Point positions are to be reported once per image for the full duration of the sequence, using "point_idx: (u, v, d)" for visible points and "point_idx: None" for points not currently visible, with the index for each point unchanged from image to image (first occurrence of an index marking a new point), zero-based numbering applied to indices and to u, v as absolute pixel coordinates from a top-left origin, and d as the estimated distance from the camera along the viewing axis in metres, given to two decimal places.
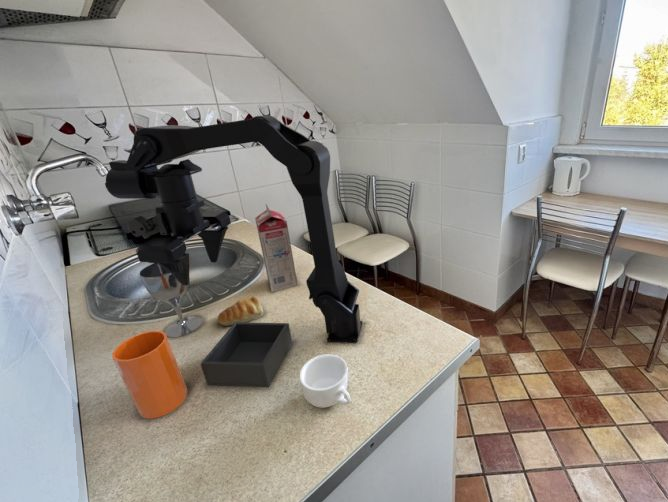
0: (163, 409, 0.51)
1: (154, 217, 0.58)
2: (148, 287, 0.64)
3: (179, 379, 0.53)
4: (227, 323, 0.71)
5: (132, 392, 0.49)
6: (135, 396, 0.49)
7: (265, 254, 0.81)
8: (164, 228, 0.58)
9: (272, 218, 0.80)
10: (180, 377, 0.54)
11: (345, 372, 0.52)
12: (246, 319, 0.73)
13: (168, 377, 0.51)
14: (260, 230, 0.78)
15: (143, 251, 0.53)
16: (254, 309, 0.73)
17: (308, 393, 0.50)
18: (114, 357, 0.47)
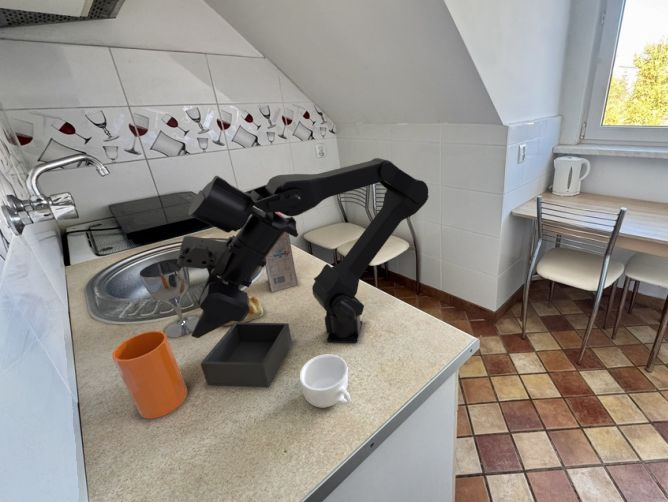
0: (163, 409, 0.51)
1: (218, 252, 0.49)
2: (148, 287, 0.64)
3: (179, 379, 0.53)
4: (227, 323, 0.71)
5: (132, 392, 0.49)
6: (135, 396, 0.49)
7: None
8: (223, 269, 0.49)
9: None
10: (180, 377, 0.54)
11: (345, 372, 0.52)
12: (246, 319, 0.73)
13: (168, 377, 0.51)
14: None
15: (221, 301, 0.44)
16: (254, 309, 0.73)
17: (308, 393, 0.50)
18: (114, 357, 0.47)
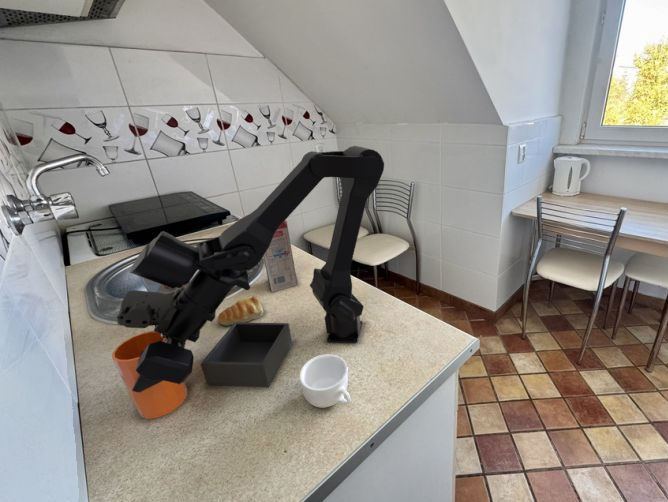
0: (163, 409, 0.51)
1: (162, 309, 0.47)
2: (148, 287, 0.64)
3: None
4: (227, 323, 0.71)
5: (132, 392, 0.49)
6: (135, 396, 0.49)
7: (265, 254, 0.81)
8: (167, 326, 0.48)
9: None
10: None
11: (345, 372, 0.52)
12: (246, 319, 0.73)
13: None
14: None
15: (159, 365, 0.43)
16: (254, 309, 0.73)
17: (308, 393, 0.50)
18: (114, 357, 0.47)
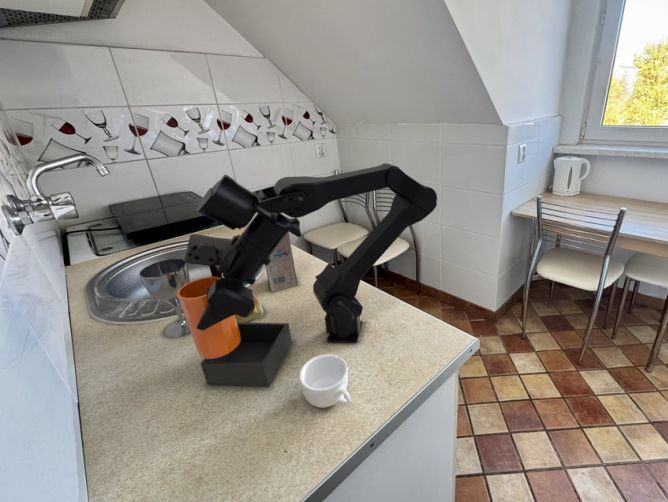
0: (222, 349, 0.54)
1: (224, 250, 0.50)
2: (148, 287, 0.64)
3: (235, 323, 0.56)
4: None
5: (195, 331, 0.52)
6: (197, 335, 0.52)
7: None
8: (228, 267, 0.50)
9: None
10: (235, 321, 0.56)
11: (345, 372, 0.52)
12: (246, 319, 0.73)
13: (226, 319, 0.54)
14: None
15: (228, 297, 0.46)
16: (254, 309, 0.73)
17: (308, 393, 0.50)
18: (179, 296, 0.50)
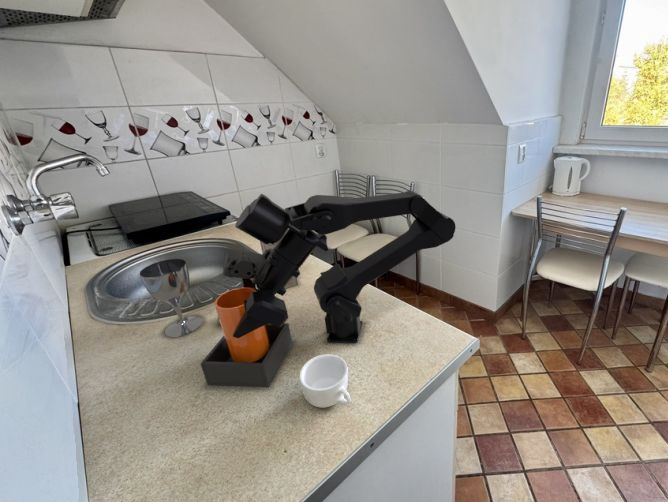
0: (254, 356, 0.58)
1: (259, 264, 0.54)
2: (148, 287, 0.64)
3: (265, 331, 0.60)
4: None
5: (230, 338, 0.56)
6: (233, 342, 0.56)
7: None
8: (263, 279, 0.54)
9: None
10: (265, 329, 0.60)
11: (345, 372, 0.52)
12: None
13: None
14: None
15: (265, 308, 0.49)
16: None
17: (308, 393, 0.50)
18: (217, 306, 0.54)
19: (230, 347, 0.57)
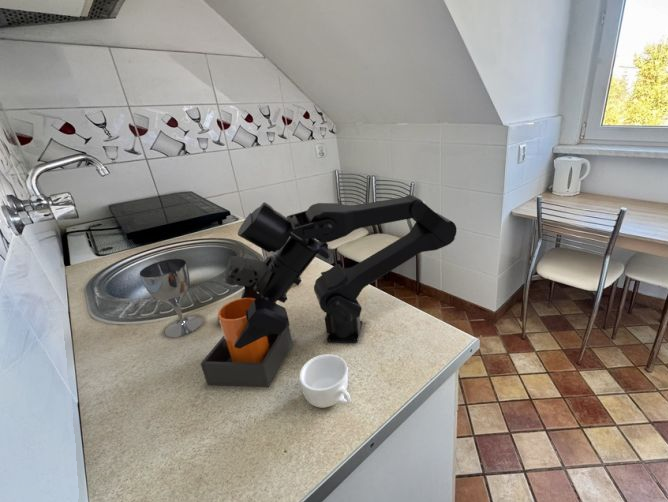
0: None
1: (261, 271, 0.54)
2: (148, 287, 0.64)
3: (267, 341, 0.61)
4: None
5: (233, 349, 0.56)
6: (235, 352, 0.57)
7: (265, 254, 0.81)
8: (264, 287, 0.55)
9: None
10: (267, 339, 0.61)
11: (345, 372, 0.52)
12: None
13: None
14: None
15: (267, 316, 0.50)
16: None
17: (308, 393, 0.50)
18: (221, 317, 0.55)
19: (233, 357, 0.58)
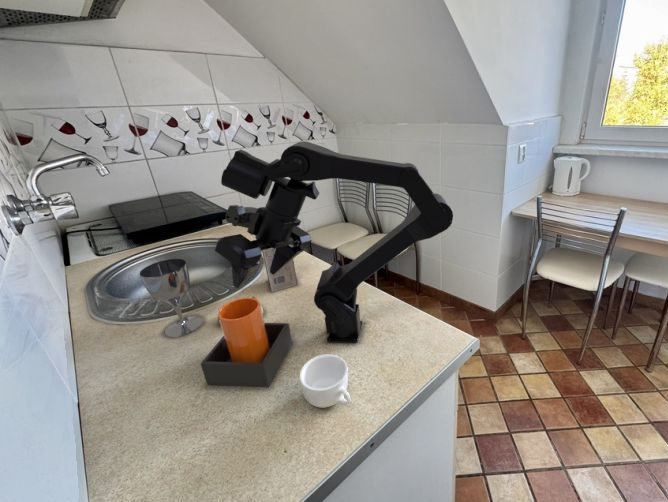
0: None
1: (252, 214, 0.57)
2: (148, 287, 0.64)
3: (267, 341, 0.61)
4: None
5: (233, 349, 0.56)
6: (235, 352, 0.57)
7: (265, 254, 0.81)
8: (253, 228, 0.57)
9: None
10: (267, 339, 0.61)
11: (345, 372, 0.52)
12: None
13: (261, 337, 0.58)
14: None
15: (224, 244, 0.51)
16: None
17: (308, 393, 0.50)
18: (221, 317, 0.55)
19: (233, 357, 0.58)
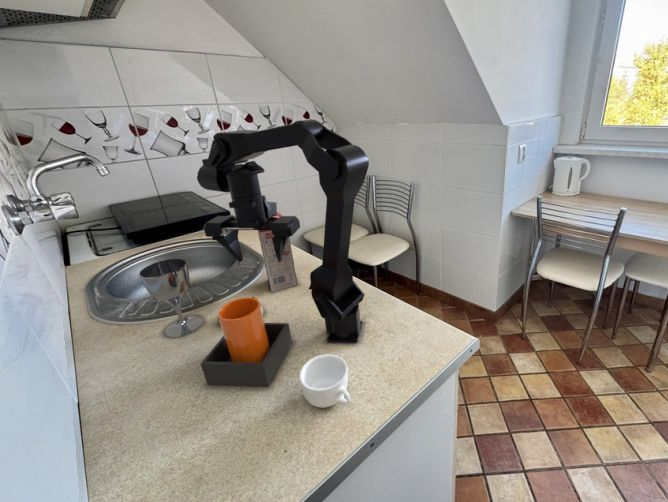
0: None
1: None
2: (148, 287, 0.64)
3: (267, 341, 0.61)
4: None
5: (233, 349, 0.56)
6: (235, 352, 0.57)
7: (265, 254, 0.81)
8: None
9: (272, 218, 0.80)
10: (267, 339, 0.61)
11: (345, 372, 0.52)
12: None
13: (261, 337, 0.58)
14: (260, 230, 0.78)
15: None
16: None
17: (308, 393, 0.50)
18: (221, 317, 0.55)
19: (233, 357, 0.58)
